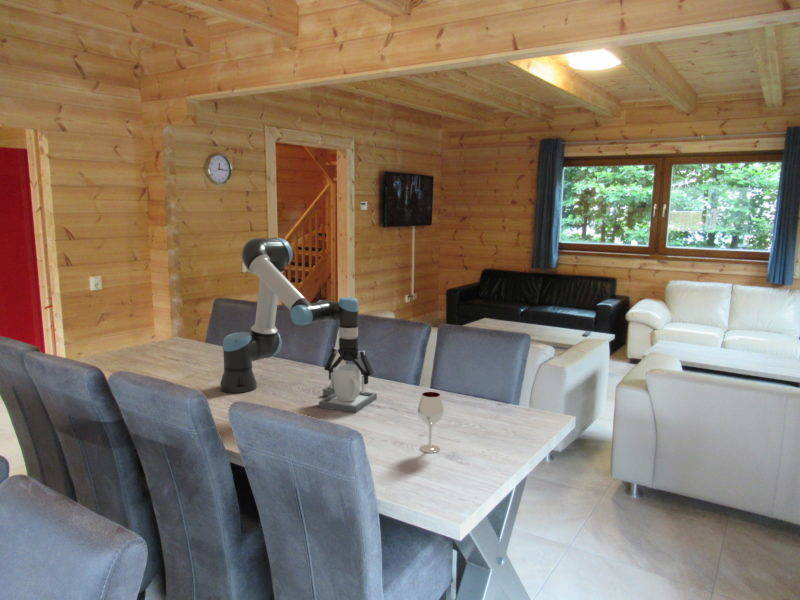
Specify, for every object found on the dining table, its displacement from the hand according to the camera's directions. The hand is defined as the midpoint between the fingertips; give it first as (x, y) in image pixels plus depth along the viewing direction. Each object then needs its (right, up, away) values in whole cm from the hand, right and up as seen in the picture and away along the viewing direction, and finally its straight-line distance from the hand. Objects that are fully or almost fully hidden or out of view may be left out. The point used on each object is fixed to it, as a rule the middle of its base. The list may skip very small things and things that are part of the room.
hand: (348, 389), depth 231 cm
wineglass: (+30, -12, -45) cm, 56 cm away
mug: (0, -4, 0) cm, 4 cm away
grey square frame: (-7, -4, +11) cm, 13 cm away
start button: (-7, -2, +10) cm, 13 cm away
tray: (0, -5, +1) cm, 5 cm away
